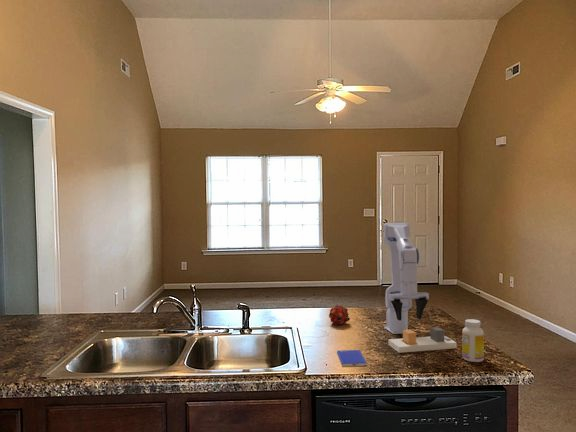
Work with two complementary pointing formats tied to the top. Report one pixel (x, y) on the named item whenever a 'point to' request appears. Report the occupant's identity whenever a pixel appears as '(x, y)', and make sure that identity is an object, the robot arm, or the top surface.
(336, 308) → the dragon fruit
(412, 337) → the orange rectangular block
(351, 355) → the hard drive
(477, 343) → the supplement bottle
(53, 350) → the top surface
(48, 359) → the top surface
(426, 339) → the white insertion base
